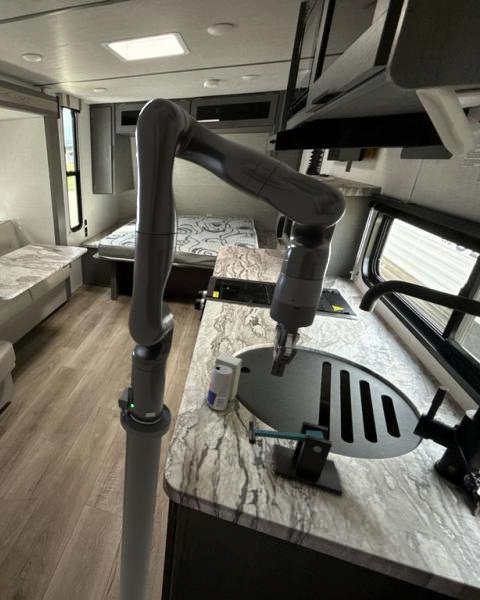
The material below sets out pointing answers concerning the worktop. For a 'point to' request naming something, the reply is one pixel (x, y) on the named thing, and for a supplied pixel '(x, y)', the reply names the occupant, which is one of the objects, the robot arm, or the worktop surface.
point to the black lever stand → (308, 461)
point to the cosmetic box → (236, 367)
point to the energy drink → (219, 386)
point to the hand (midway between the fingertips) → (276, 374)
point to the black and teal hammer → (278, 434)
